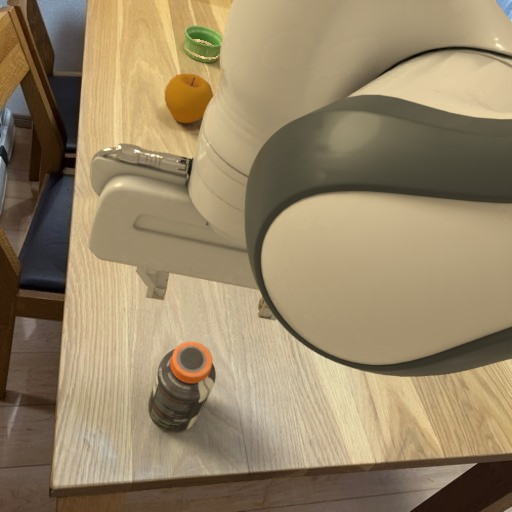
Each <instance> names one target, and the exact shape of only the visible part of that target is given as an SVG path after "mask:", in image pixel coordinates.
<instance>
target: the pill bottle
mask: <svg viewBox="0 0 512 512" xmlns="http://www.w3.org/2000/svg"><path fill="white" fill-rule="evenodd" d="M213 361H214V360H213V355H212V353H211V351H210V350H209V348H208V347H206V346H205V345H203V344H202V343H200V342H197V341H186V342H182V343H181V344H179V345H177V347H176V348H173V349H172V350H170V351H168V352H167V353H166V354H165V355H164V356H163V358H162V359H161V360H160V363H159V364H158V368H157V372H156V375H155V379H154V381H153V385H152V389H151V392H150V396H149V398H148V402H147V403H148V404H147V410H148V411H147V412H148V415H149V418H150V419H151V421H152V423H153V424H154V425H155V426H156V427H157V428H159V429H160V430H162V431H164V432H167V433H181V432H185V431H187V430H189V429H190V428H192V426H194V425H195V424H196V422H197V421H198V419H199V417H200V415H201V413H202V410H203V409H204V407H205V405H206V402H207V400H208V398H209V396H210V394H211V392H212V390H213V387H214V385H215V383H216V379H217V375H216V368H215V365H214V363H213Z"/></svg>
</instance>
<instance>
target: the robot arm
mask: <svg viewBox="0 0 512 512" xmlns="http://www.w3.org/2000/svg"><path fill="white" fill-rule="evenodd" d="M231 1H232V2H231V5H230V8H229V12H228V15H227V20H226V23H225V27H224V31H223V34H222V36H223V39H222V43H221V48H220V55H219V68H220V74H219V82H218V86H217V88H216V91H215V92H214V93H213V97H212V99H211V100H210V102H209V104H208V106H207V108H206V110H205V113H204V116H203V117H202V121H201V125H200V128H199V133H198V136H197V140H196V145H195V149H194V152H193V157H191V158H190V157H186V156H182V155H179V154H178V155H177V154H174V153H169V152H162V151H155V150H150V149H147V148H143V147H141V146H140V145H136V144H133V143H132V144H131V143H125V142H124V143H123V142H122V143H119V144H118V145H117V147H115V146H111V147H104V148H103V149H100V150H98V151H97V152H96V153H95V154H94V155H93V156H92V158H91V160H90V169H89V170H90V171H89V173H90V174H89V181H90V186H91V188H92V190H93V191H94V193H95V194H96V196H98V200H97V202H96V206H95V208H94V209H95V210H94V212H93V216H92V219H91V223H90V227H89V232H88V236H87V237H88V238H87V248H88V249H89V250H90V252H91V253H92V254H93V255H94V256H95V257H96V258H97V259H98V260H100V261H104V262H111V263H115V264H120V265H126V266H131V267H136V269H135V273H136V274H137V275H138V277H139V278H140V279H141V281H142V282H143V283H144V285H145V286H146V287H147V289H146V294H145V298H146V299H150V300H151V299H152V300H160V301H164V300H165V298H166V293H167V289H168V282H169V278H170V277H169V276H170V274H173V275H179V276H182V277H188V278H194V279H199V280H204V281H210V282H215V283H221V284H225V285H231V286H236V287H242V288H246V289H251V290H257V291H259V293H260V294H261V298H260V299H259V301H258V306H257V309H258V313H257V317H258V318H259V319H264V320H269V321H276V320H277V321H278V322H279V324H280V325H281V326H282V327H283V329H285V330H286V331H287V332H288V333H289V334H290V335H291V336H292V337H293V338H294V339H296V340H297V341H299V342H300V343H301V344H302V345H303V346H304V347H306V348H308V349H309V350H311V351H312V352H314V353H316V354H317V355H319V356H321V357H323V358H325V359H327V360H330V361H331V362H334V363H336V364H339V365H342V366H345V367H348V368H351V369H354V370H358V371H362V372H365V373H371V374H375V375H381V376H389V377H401V378H404V377H405V378H411V377H413V378H416V377H417V378H419V377H421V378H422V377H434V376H444V375H445V376H446V375H450V374H457V373H461V372H466V371H471V370H475V369H478V368H482V367H485V366H490V365H493V364H497V363H501V362H504V361H509V360H512V20H511V19H510V18H509V17H508V15H507V14H506V13H505V11H504V10H503V9H502V7H501V6H500V5H499V3H498V2H497V0H231Z"/></svg>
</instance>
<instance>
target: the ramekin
mask: <svg viewBox="0 0 512 512" xmlns="http://www.w3.org/2000/svg"><path fill="white" fill-rule="evenodd" d="M193 39H200V40H204V41H207V42H209V43H211V44H212V45H214V46H212V45H207V44H205V43H201V42H197V41H195V40H193ZM222 39H223V34H221V33H219V32H218V31H217V30H215V29H213V28H210V27H207V26H203V25H189V26H187V27H186V28H185V29H184V43H185V46H186V48H187V49H189V50H190V51H191V52H194V53H196V54H198V55H200V56H204V57H216V56H218V55H219V54H220V48H221V43H222ZM183 50H184V53H185V54H186V55H187V56H188V57H189V58H191V59H193V60H195V61H198V62H202V63H214V62H216V61H218V60H219V59H220V55H219V57H218V58H216V59H211V60H209V59H202V58H199V57H196V56H194V55H192V54H190V53H189V52H188V51H187V50H186V49H185V47H183Z"/></svg>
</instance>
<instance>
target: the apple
mask: <svg viewBox="0 0 512 512" xmlns="http://www.w3.org/2000/svg"><path fill="white" fill-rule="evenodd" d="M213 96H214V93H213V89H212V86H211V84H210V83H209V82H207V80H205V79H204V78H203V77H201V76H200V75H198V74H194V73H179V74H176V75H175V76H174V77H172V78H171V79H170V80H169V82H168V84H166V86H165V89H164V102H165V104H166V107H167V109H168V111H169V113H170V115H171V116H172V117H173V119H174V120H175V121H176V122H178V123H181V124H192V123H195V122H197V121H199V120H200V119H203V116H204V113H205V110H206V108H207V106H208V104H209V102H210V100H211V99H212V97H213Z"/></svg>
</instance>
